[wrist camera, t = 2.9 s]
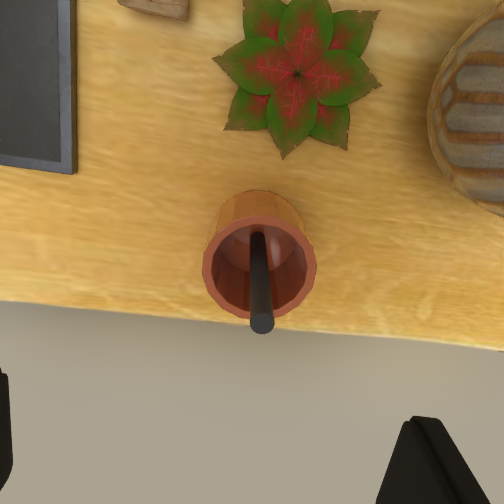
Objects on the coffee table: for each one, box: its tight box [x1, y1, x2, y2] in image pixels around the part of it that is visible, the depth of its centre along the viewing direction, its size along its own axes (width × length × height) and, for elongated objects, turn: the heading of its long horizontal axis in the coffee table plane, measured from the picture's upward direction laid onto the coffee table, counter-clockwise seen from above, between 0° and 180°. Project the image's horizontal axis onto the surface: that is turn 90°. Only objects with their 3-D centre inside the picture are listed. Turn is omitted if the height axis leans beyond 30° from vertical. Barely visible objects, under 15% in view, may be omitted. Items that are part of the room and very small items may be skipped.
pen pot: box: [202, 190, 317, 319], centre depth 30 cm, size 7×7×7 cm
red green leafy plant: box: [211, 0, 382, 160], centre depth 26 cm, size 12×12×5 cm
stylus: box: [250, 232, 275, 334], centre depth 26 cm, size 1×1×13 cm
